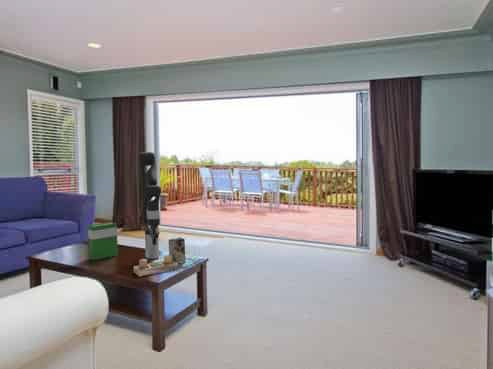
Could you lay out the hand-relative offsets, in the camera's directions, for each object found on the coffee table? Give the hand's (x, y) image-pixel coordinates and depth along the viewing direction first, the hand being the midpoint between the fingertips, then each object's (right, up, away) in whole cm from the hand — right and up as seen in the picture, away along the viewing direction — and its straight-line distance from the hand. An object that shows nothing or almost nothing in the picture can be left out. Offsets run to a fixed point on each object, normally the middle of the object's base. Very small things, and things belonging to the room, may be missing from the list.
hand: (154, 244), depth 233 cm
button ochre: (+7, -13, +5) cm, 16 cm away
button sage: (+1, -16, +1) cm, 16 cm away
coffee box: (+11, -15, +18) cm, 26 cm away
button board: (+1, -16, +1) cm, 16 cm away
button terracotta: (-6, -14, -4) cm, 16 cm away
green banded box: (-45, -15, +34) cm, 58 cm away
